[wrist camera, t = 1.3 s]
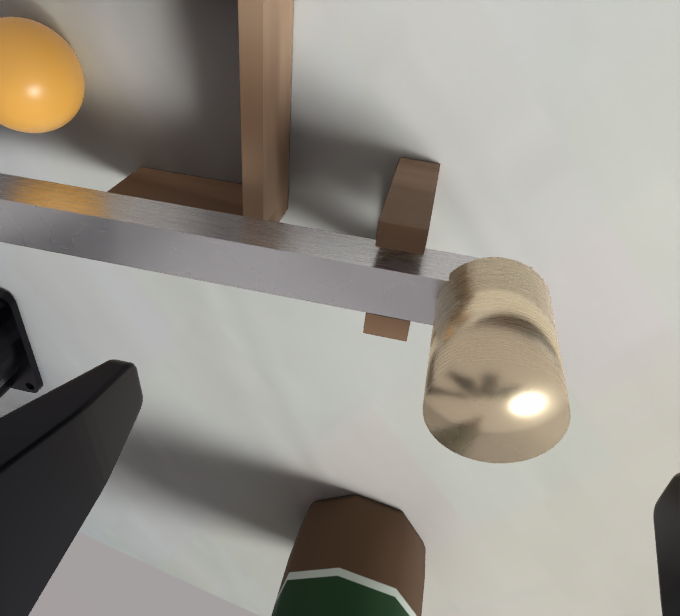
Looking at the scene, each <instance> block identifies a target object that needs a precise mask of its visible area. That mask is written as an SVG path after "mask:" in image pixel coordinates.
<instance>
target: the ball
mask: <svg viewBox="0 0 680 616" xmlns="http://www.w3.org/2000/svg"><path fill="white" fill-rule="evenodd" d="M84 95H85V78H84V73H83V69H82V66H81V63H80V61H79V59H78V57H77V55H76V54H75V52H74V51H73V49H72V48H71V46H70V45H69V44H68V43H67V42H66V41H65V40H64V39H63V38H62V37H61V36H60V35H59V34H58V33H56V32H55V31H54V30H52V29H50V28H49V27H47V26H45V25H43V24H41V23H39V22H36V21H34V20H31V19H27V18H22V17H2V18H0V124H1V125H3V126H5V127H7V128H10V129H13V130H16V131H20V132H25V133H45V132H50V131H53V130H56V129H58V128H61V127H62V126H64V125H65V124H67V123H68V122H69V121H70V120H71V119H72V118H73V117H74V116H75V115H76V114H77V112H78V111H79V109H80V107H81V105H82V103H83V99H84Z"/></svg>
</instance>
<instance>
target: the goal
mask: <svg viewBox="0 0 680 616" xmlns="http://www.w3.org/2000/svg"><path fill="white" fill-rule="evenodd" d="M293 14H294V0H238V25H239V67H240V108H241V150H242V184H239V183H233V182H227V181H221V180H215V179H209V178H203V177H197V176H192V175H186V174H180V173H174V172H168V171H162V170H156V169H150V168H144V167H140V168H139V169H137V170H136V171H135V172H133V173H132V174H131V175H129V176H128V177H127V178H125V179H124V180H122V181H121V182H120V183H118V184H117V185H116V186H114V187H113V188H112V189H110V190H109V191H108V192H109V193H115V194H120V195H126V196H132V197H137V198H143V199H149V200H154V201H160V202H166V203H171V204H177V205H183V206H188V207H194V208H200V209H205V210H211V211H217V212H222V213H228V214H234V215H239V216H245V217H251V218H256V219H262V220H268V221H273V222H279V221H280V220H281V218H282V217H283V215H284V214H285V212H286V211H287V209H288V186H289V152H290V117H291V83H292V48H293Z"/></svg>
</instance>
